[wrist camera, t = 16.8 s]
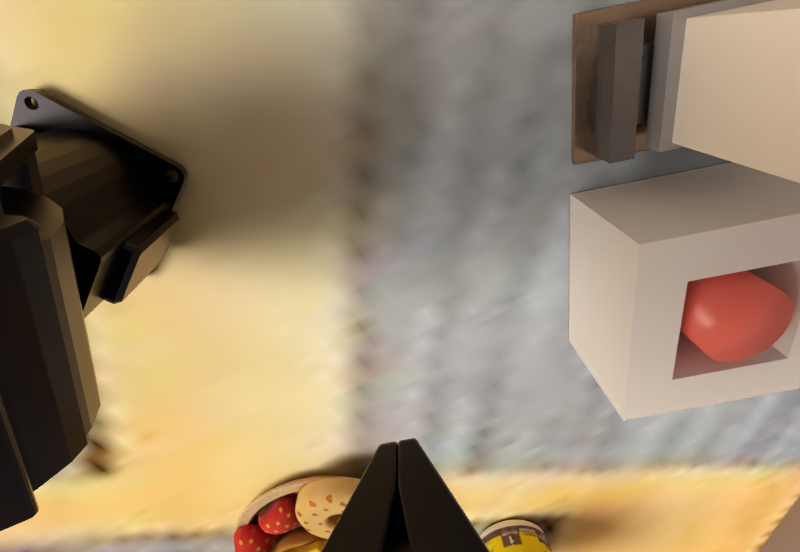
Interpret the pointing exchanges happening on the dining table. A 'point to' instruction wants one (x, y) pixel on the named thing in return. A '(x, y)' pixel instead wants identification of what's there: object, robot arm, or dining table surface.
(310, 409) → the dining table surface
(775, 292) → the button
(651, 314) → the white button housing
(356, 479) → the toy food set
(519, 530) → the supplement bottle
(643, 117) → the rail
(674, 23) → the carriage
